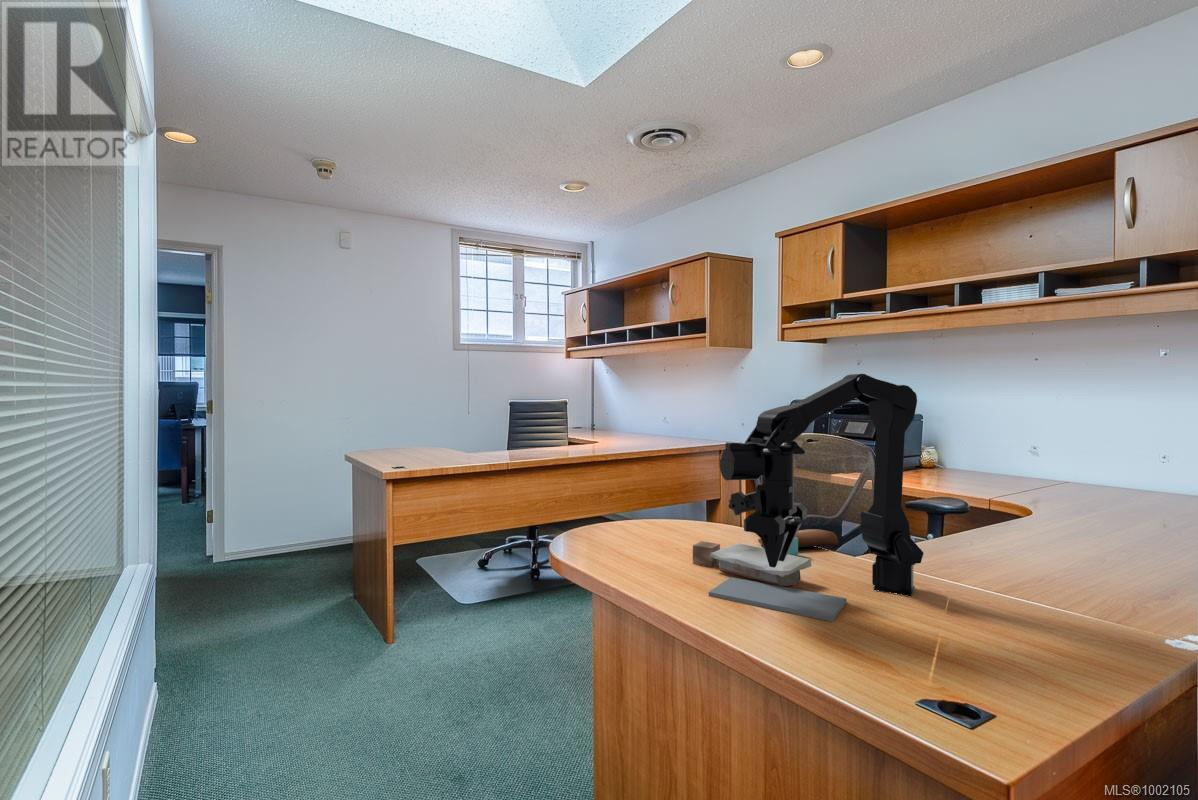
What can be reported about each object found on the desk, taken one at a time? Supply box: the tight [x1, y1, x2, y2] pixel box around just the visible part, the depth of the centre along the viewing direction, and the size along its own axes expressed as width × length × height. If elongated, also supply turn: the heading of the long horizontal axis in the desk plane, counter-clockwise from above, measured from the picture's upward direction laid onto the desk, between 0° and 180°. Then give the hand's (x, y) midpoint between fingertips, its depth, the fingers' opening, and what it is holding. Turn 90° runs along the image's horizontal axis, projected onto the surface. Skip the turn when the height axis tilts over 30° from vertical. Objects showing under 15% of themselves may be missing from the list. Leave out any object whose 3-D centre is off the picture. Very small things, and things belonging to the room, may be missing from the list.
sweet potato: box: [757, 528, 839, 548], centre depth 145 cm, size 18×7×7 cm
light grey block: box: [710, 542, 812, 587], centre depth 121 cm, size 18×5×10 cm
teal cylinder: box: [787, 537, 799, 557], centre depth 137 cm, size 4×4×4 cm
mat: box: [708, 576, 848, 622], centre depth 108 cm, size 22×11×1 cm, turn 56°
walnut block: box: [692, 540, 721, 568], centre depth 131 cm, size 4×4×4 cm
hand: (776, 563), depth 108 cm, fingers open, 5 cm apart
